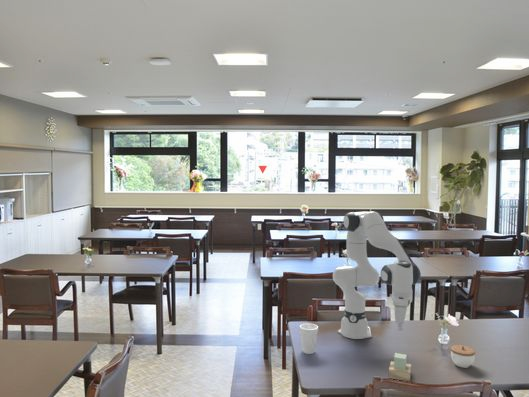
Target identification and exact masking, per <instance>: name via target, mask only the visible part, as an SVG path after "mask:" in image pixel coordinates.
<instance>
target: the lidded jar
mask: <svg viewBox="0 0 529 397" xmlns="http://www.w3.org/2000/svg"><path fill="white" fill-rule="evenodd" d="M450 356H451V357H450V358H451V360H452V361H453V363H454V364H455V366H457V367H459V368H463V369H468V368H469V367H470V366H472V365H473V364H474V362H475V357H476V350H475V349H474V348H472V347H470V346H467V345H461V344H455V345H452V346H450Z"/></svg>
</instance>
